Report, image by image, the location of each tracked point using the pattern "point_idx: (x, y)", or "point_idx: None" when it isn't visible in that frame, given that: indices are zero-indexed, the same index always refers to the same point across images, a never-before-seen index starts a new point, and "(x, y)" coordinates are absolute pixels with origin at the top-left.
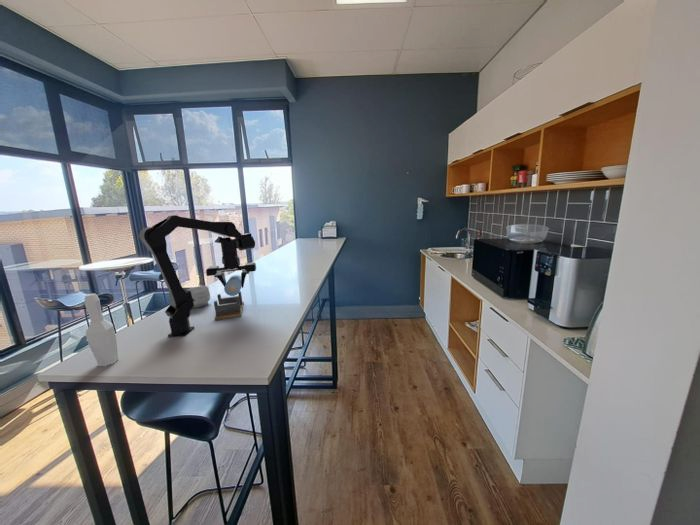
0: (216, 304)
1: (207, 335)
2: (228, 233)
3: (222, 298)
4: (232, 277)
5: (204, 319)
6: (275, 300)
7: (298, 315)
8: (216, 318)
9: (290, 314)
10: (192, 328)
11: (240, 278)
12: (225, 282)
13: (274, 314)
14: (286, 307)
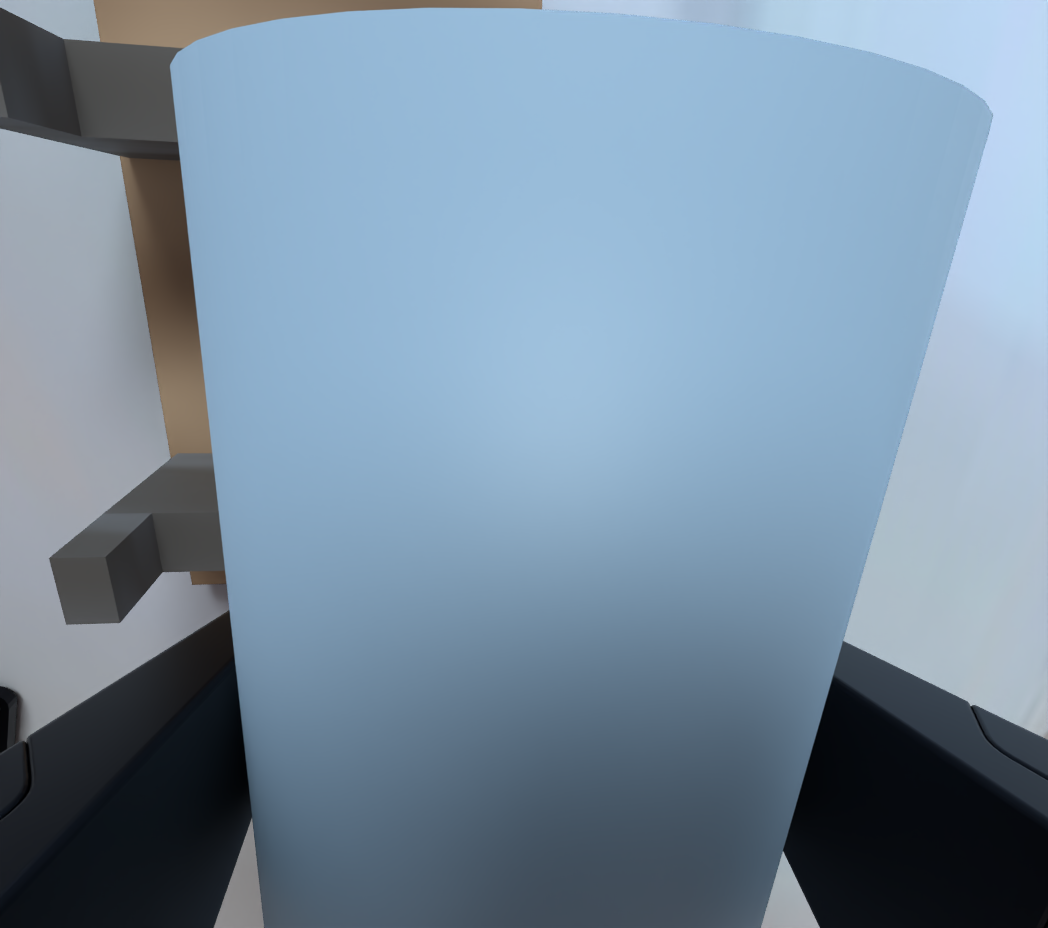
0: (141, 588)
1: (244, 862)
2: None
3: (119, 106)
4: (512, 900)
5: (32, 477)
6: (1021, 136)
7: (1029, 728)
8: (221, 581)
9: (983, 686)
10: (10, 735)
11: (847, 618)
12: (193, 871)
13: (856, 635)
14: (1028, 495)
